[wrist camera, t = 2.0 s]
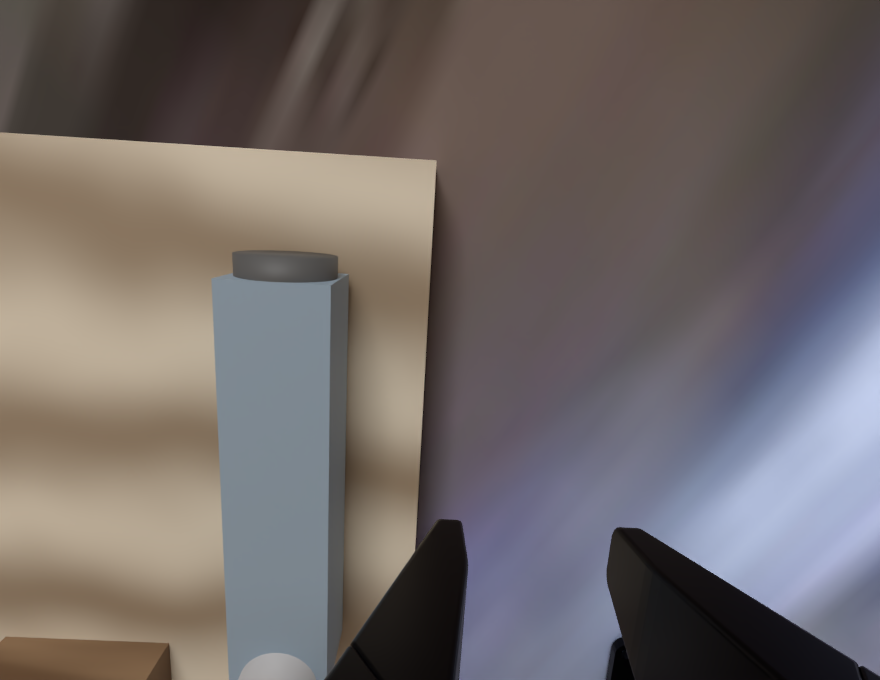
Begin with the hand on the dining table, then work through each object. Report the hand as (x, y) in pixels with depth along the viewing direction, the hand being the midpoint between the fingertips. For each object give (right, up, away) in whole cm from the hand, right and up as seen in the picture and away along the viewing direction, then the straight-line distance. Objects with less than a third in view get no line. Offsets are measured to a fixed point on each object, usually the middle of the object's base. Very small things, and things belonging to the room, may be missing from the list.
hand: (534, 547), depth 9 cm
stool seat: (-12, 0, +11) cm, 17 cm away
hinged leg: (-6, -1, +9) cm, 11 cm away
